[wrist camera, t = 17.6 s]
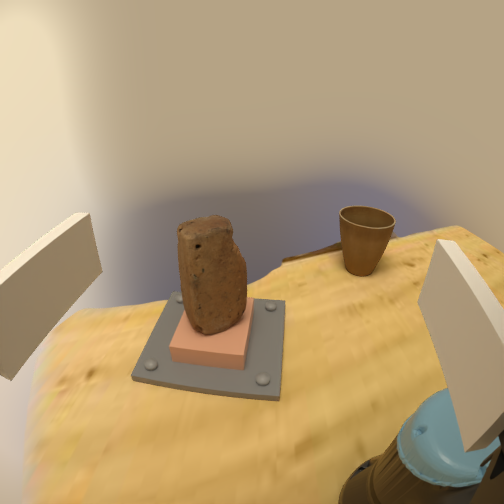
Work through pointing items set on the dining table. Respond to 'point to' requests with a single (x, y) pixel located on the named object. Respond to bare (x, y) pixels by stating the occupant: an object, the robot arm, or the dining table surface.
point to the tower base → (216, 376)
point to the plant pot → (364, 237)
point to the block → (211, 274)
